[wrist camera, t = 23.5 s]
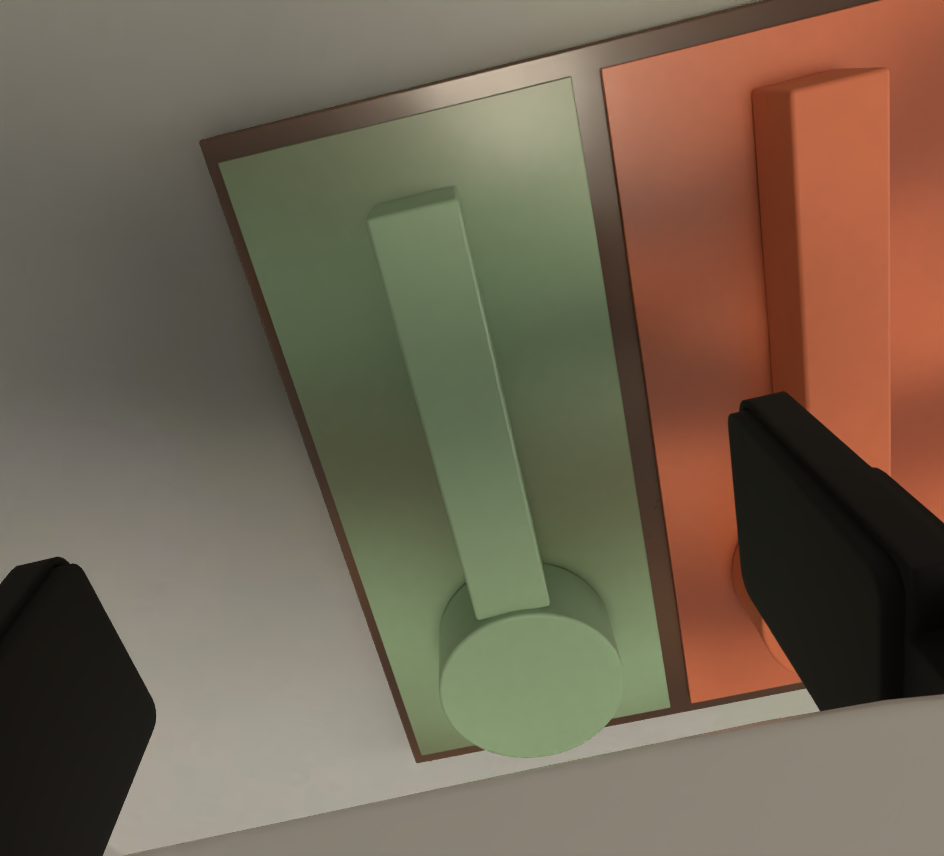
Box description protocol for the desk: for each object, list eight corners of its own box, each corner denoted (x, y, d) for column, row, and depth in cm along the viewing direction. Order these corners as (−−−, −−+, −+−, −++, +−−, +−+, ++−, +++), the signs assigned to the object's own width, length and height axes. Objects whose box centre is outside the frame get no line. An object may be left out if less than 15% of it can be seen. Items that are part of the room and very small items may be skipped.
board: (205, 139, 16) (194, 141, 16) (970, -51, 15) (995, -58, 15) (416, 748, 24) (415, 769, 23) (945, 646, 23) (961, 664, 22)
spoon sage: (310, 219, 16) (291, 239, 14) (521, 168, 16) (532, 180, 14) (461, 711, 22) (462, 773, 20) (619, 679, 22) (637, 740, 20)
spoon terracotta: (681, 105, 16) (716, 109, 14) (909, 50, 15) (979, 46, 13) (738, 643, 21) (768, 701, 19) (905, 610, 21) (954, 665, 19)
